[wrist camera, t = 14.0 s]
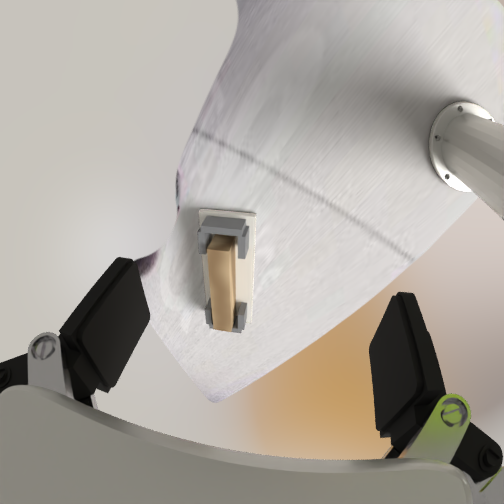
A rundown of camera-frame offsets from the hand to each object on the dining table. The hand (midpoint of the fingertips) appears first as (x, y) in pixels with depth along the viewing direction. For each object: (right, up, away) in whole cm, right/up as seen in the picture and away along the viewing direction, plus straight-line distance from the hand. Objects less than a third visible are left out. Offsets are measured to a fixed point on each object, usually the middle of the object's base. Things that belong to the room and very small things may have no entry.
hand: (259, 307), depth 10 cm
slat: (-4, -2, +36) cm, 36 cm away
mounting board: (-4, -1, +36) cm, 36 cm away
